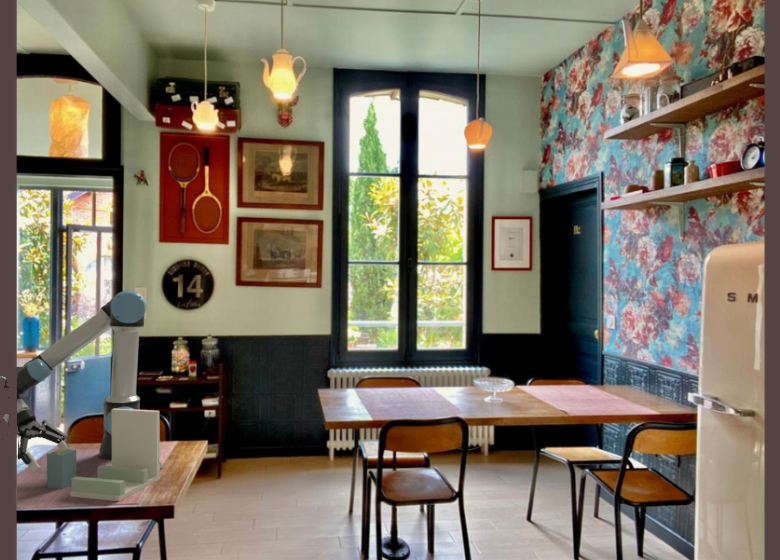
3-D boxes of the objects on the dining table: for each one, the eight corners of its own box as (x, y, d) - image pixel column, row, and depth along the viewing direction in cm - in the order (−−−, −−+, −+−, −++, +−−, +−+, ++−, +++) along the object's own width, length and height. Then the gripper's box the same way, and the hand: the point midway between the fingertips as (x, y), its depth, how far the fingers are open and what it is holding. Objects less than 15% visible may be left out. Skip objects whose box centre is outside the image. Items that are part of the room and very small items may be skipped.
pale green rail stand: (115, 475, 194) (115, 408, 194) (160, 478, 190) (159, 410, 190) (70, 496, 175) (70, 422, 175) (119, 501, 171) (118, 425, 171)
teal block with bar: (61, 481, 189) (61, 445, 189) (76, 482, 187) (76, 446, 187) (46, 487, 183) (46, 450, 183) (62, 488, 181) (61, 451, 182)
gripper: (43, 414, 201) (77, 459, 198) (-23, 432, 177) (14, 483, 173) (55, 401, 200) (89, 445, 196) (-10, 417, 176) (28, 468, 172)
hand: (54, 463), depth 185 cm, fingers open, 13 cm apart
